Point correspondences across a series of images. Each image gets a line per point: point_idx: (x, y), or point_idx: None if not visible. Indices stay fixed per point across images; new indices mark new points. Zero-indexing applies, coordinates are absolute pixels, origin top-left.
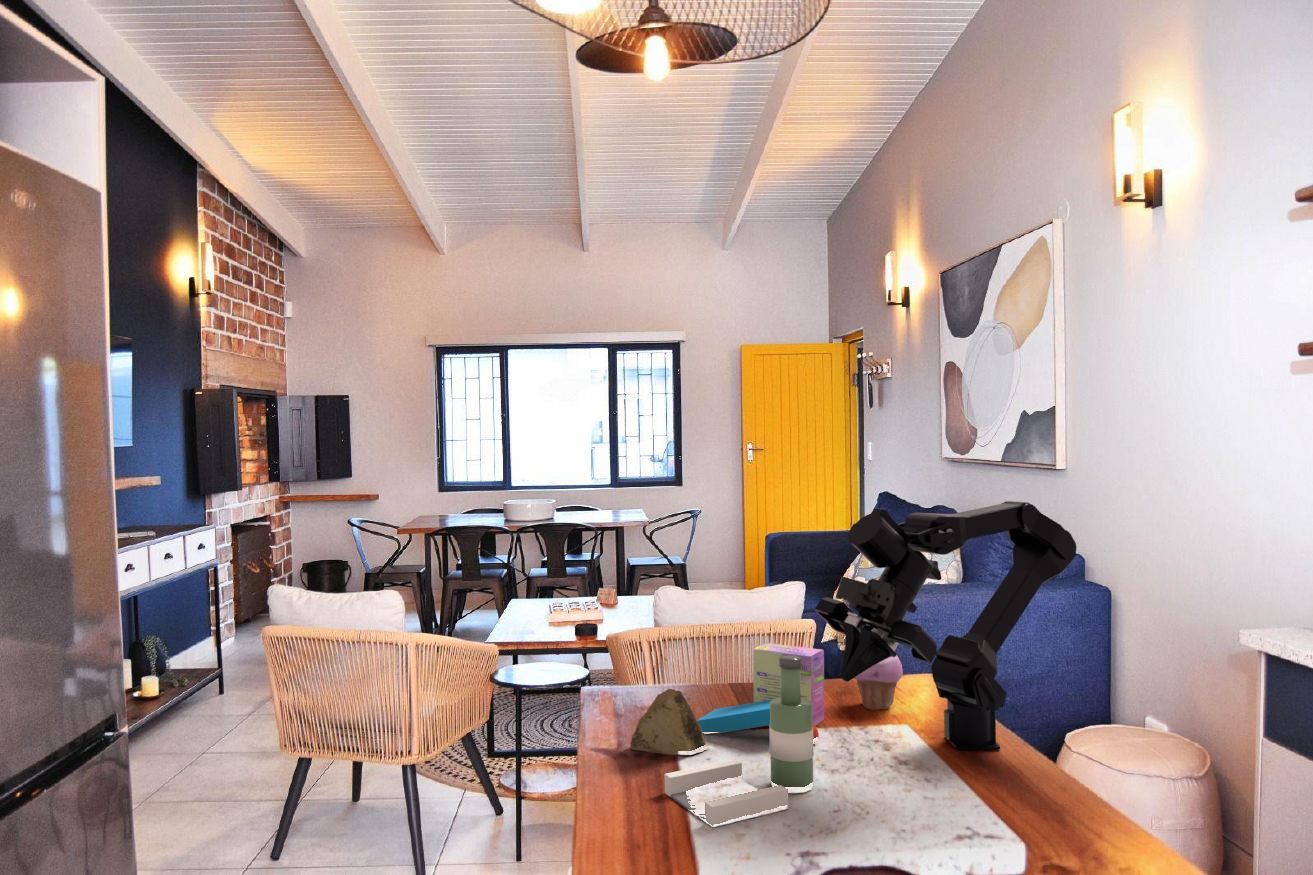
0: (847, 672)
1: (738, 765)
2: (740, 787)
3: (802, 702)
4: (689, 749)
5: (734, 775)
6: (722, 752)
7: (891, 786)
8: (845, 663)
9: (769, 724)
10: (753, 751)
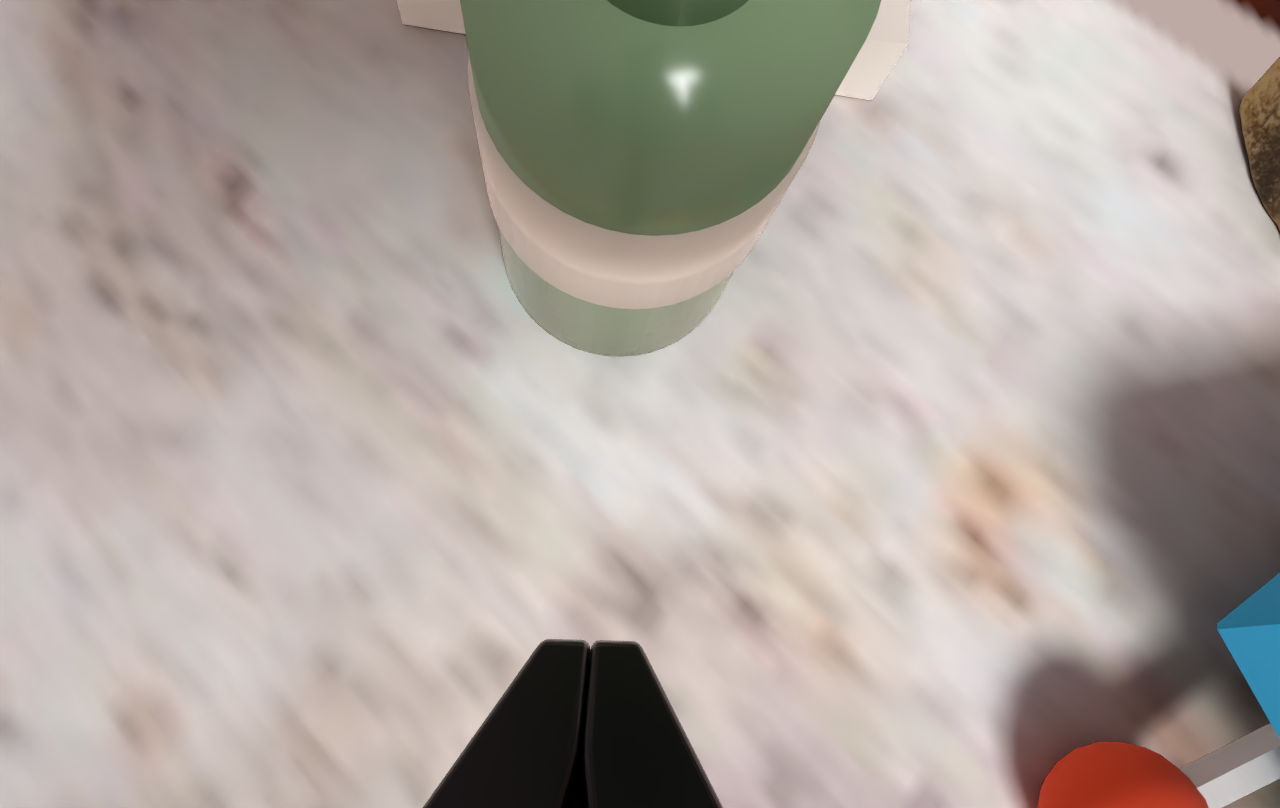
0: (499, 700)
1: None
2: None
3: (615, 31)
4: (1263, 83)
5: None
6: (1209, 282)
7: (245, 688)
8: (622, 805)
9: (1276, 580)
10: (1138, 430)
